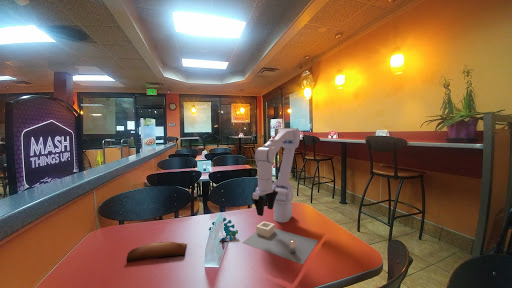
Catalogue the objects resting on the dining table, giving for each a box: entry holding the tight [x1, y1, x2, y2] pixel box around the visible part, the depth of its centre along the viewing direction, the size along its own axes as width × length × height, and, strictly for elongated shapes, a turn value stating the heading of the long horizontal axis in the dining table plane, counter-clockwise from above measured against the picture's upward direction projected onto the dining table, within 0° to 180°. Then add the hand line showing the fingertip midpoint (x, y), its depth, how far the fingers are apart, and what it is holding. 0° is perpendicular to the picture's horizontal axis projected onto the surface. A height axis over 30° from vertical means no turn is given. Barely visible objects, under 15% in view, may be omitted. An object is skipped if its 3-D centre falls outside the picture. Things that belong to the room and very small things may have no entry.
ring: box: [255, 221, 276, 237], centre depth 81 cm, size 5×5×3 cm
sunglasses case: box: [126, 241, 188, 263], centre depth 70 cm, size 18×7×7 cm
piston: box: [289, 239, 296, 254], centre depth 68 cm, size 2×2×4 cm
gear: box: [208, 217, 239, 241], centre depth 79 cm, size 11×6×10 cm
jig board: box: [241, 228, 319, 265], centre depth 75 cm, size 16×23×1 cm
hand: (265, 212), depth 81 cm, fingers open, 7 cm apart
